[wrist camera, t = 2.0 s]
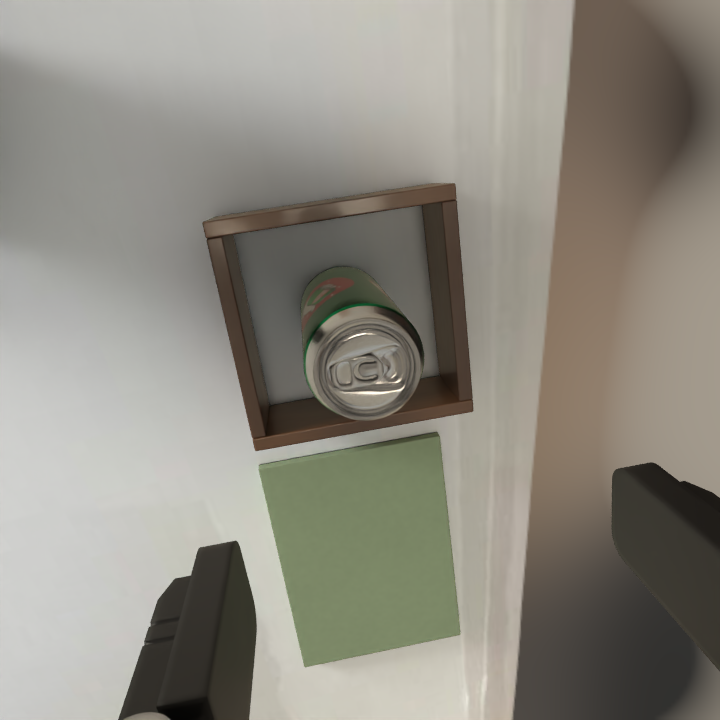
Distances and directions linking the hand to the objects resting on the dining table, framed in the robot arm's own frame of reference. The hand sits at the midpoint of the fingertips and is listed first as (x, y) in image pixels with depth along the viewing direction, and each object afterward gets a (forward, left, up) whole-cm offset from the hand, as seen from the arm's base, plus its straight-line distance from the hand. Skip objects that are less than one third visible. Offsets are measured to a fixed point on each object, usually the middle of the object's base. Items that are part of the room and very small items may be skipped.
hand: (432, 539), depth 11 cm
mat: (-1, -18, -23) cm, 29 cm away
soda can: (0, 0, -23) cm, 23 cm away
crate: (0, 0, -23) cm, 23 cm away
